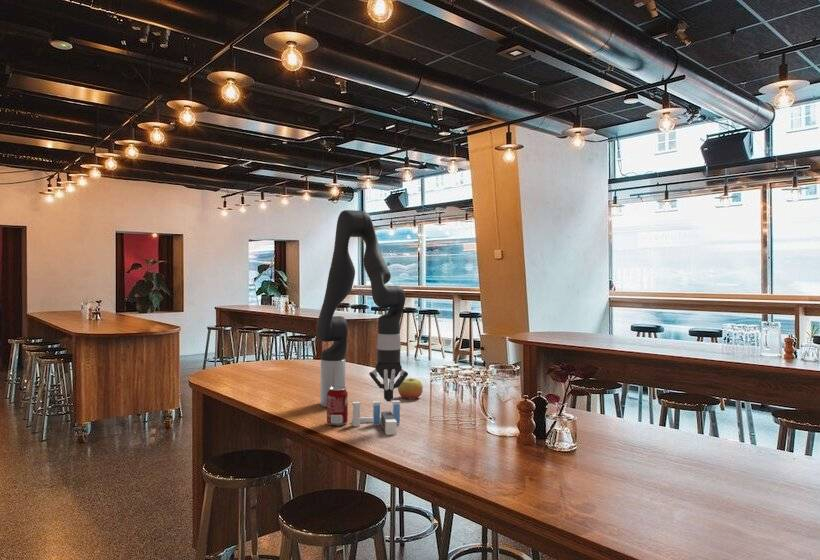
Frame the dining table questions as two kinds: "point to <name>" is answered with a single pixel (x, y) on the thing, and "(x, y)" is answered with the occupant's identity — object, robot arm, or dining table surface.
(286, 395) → the dining table surface
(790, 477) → the dining table surface
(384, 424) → the grey rectangular bar
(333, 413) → the soda can
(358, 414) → the upright peg stand
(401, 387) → the apple
